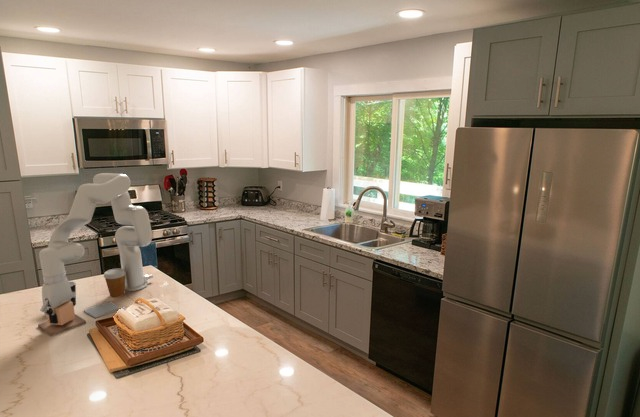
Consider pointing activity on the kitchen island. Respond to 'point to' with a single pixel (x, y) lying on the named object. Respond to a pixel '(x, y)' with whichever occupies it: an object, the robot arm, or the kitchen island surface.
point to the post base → (61, 326)
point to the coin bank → (63, 313)
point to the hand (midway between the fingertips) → (61, 318)
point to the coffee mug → (73, 290)
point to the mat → (102, 309)
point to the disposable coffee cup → (115, 282)
